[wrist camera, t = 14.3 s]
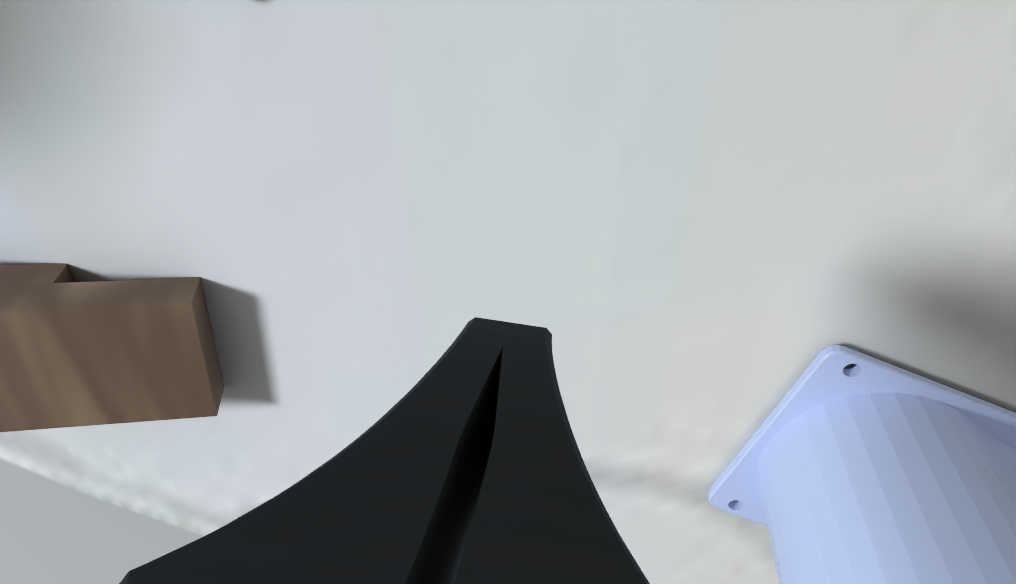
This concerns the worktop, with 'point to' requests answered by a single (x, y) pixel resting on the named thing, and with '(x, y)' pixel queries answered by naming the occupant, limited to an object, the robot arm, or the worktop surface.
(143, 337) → the domino
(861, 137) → the worktop surface
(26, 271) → the domino
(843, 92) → the worktop surface
